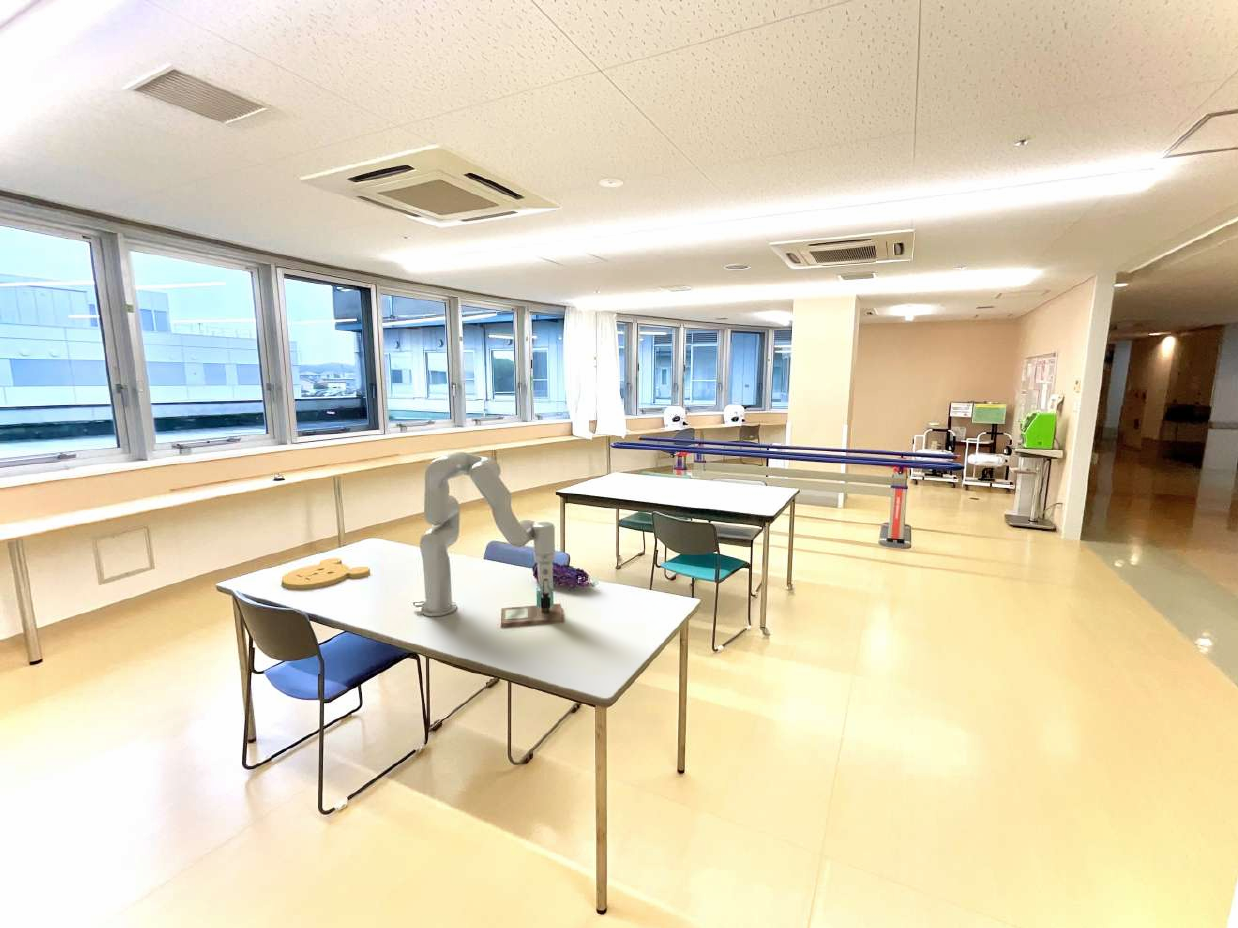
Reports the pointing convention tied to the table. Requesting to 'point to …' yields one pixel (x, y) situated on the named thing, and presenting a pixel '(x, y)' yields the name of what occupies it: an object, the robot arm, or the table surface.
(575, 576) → the decorative ornament
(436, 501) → the robot arm
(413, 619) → the table surface
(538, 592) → the teal cap
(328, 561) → the decorative plaque
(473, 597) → the table surface
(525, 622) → the post board
